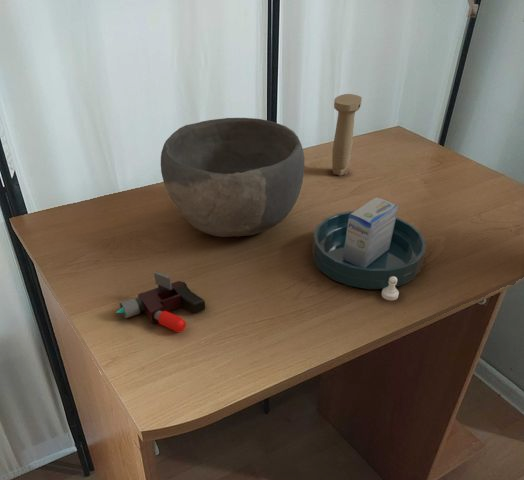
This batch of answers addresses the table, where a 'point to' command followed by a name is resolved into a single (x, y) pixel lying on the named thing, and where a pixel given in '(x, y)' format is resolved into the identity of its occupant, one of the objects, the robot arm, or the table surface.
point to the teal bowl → (379, 271)
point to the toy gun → (164, 303)
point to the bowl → (233, 174)
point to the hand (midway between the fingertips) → (499, 19)
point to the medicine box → (369, 232)
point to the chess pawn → (391, 290)
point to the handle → (344, 131)
